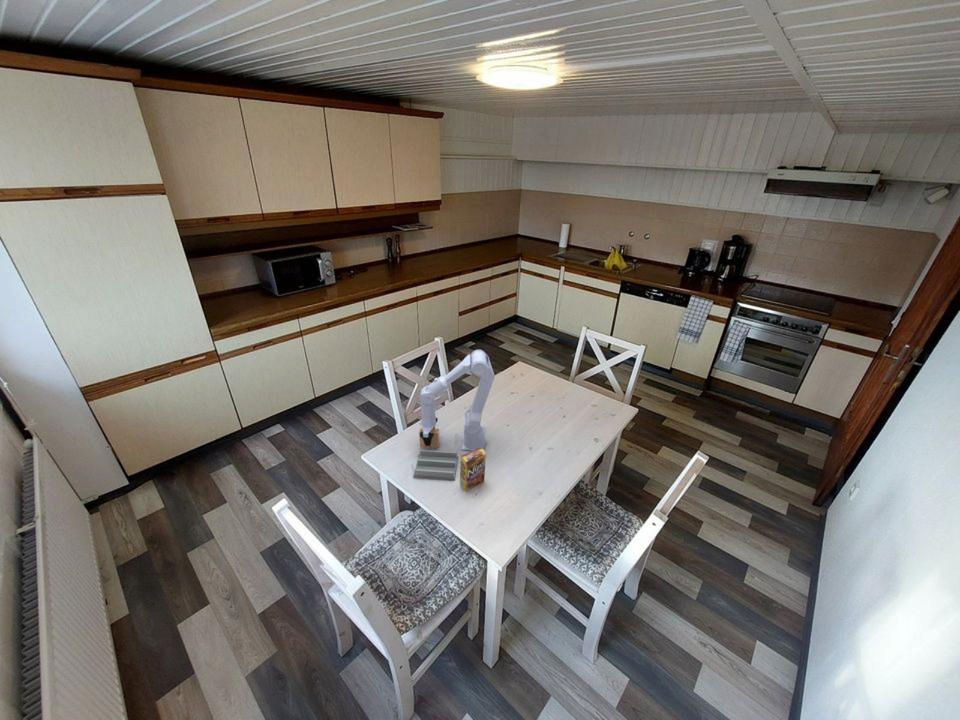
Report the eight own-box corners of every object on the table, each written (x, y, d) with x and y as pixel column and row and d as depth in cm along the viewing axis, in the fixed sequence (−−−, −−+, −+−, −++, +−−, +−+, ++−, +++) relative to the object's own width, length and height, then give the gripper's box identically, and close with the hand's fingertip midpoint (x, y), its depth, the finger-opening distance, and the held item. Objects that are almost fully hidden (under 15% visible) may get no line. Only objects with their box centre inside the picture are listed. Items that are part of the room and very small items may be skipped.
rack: (458, 458, 159) (458, 451, 158) (454, 480, 149) (454, 473, 147) (419, 455, 160) (419, 449, 158) (413, 477, 150) (412, 470, 148)
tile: (439, 443, 167) (439, 428, 163) (438, 448, 165) (438, 433, 161) (421, 442, 168) (420, 427, 164) (420, 446, 165) (419, 432, 161)
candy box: (465, 492, 144) (465, 462, 137) (459, 484, 147) (459, 454, 140) (485, 482, 148) (486, 452, 141) (479, 475, 151) (479, 445, 144)
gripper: (422, 402, 165) (423, 427, 171) (414, 424, 152) (416, 450, 159) (438, 403, 164) (439, 428, 171) (432, 425, 152) (433, 451, 158)
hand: (429, 439), depth 165 cm, fingers open, 7 cm apart
